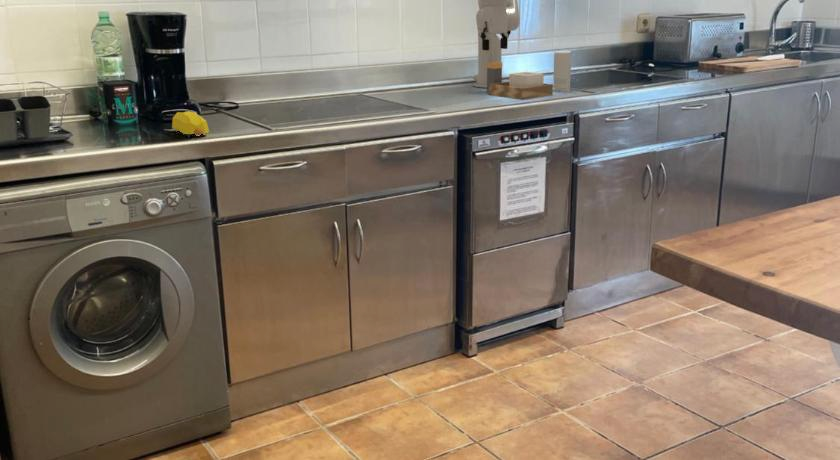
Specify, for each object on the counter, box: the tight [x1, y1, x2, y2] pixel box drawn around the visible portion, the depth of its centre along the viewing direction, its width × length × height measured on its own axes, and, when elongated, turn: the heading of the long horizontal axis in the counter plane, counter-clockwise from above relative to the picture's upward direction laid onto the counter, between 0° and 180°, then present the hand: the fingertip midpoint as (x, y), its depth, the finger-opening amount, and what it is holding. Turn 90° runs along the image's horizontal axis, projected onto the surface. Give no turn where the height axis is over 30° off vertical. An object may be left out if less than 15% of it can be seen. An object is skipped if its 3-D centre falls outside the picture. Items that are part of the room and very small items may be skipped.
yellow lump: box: [171, 110, 210, 135], centre depth 248 cm, size 18×7×8 cm
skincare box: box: [553, 50, 572, 93], centre depth 319 cm, size 8×7×16 cm
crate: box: [488, 81, 554, 101], centre depth 310 cm, size 18×16×5 cm
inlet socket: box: [508, 71, 545, 88], centre depth 309 cm, size 9×9×8 cm
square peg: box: [486, 61, 503, 94], centre depth 317 cm, size 4×4×12 cm
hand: (494, 49), depth 313 cm, fingers open, 9 cm apart
